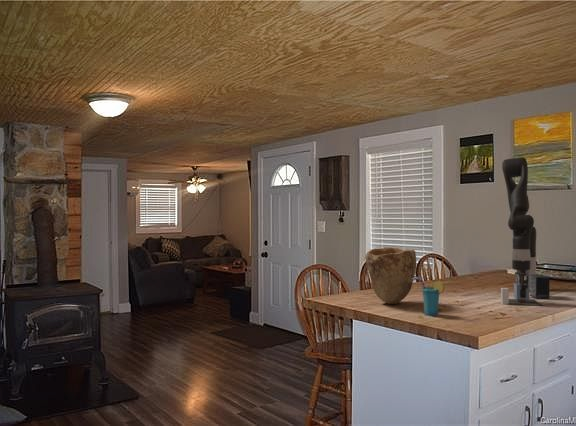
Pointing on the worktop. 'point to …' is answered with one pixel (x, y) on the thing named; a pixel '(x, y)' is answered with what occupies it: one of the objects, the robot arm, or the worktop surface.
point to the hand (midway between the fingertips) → (521, 296)
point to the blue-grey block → (517, 292)
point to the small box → (539, 286)
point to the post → (504, 296)
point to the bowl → (391, 272)
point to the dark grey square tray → (524, 302)
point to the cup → (431, 297)
